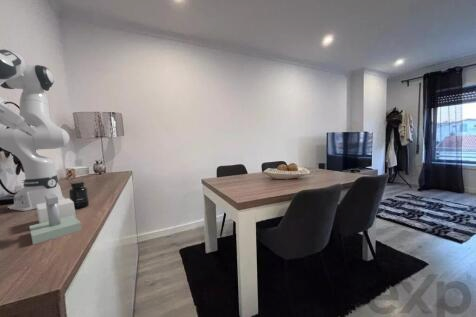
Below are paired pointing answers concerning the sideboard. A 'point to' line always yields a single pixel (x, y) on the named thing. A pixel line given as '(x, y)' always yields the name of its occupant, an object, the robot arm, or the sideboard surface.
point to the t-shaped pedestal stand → (54, 223)
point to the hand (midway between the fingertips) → (33, 134)
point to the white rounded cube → (64, 209)
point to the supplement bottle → (79, 195)
